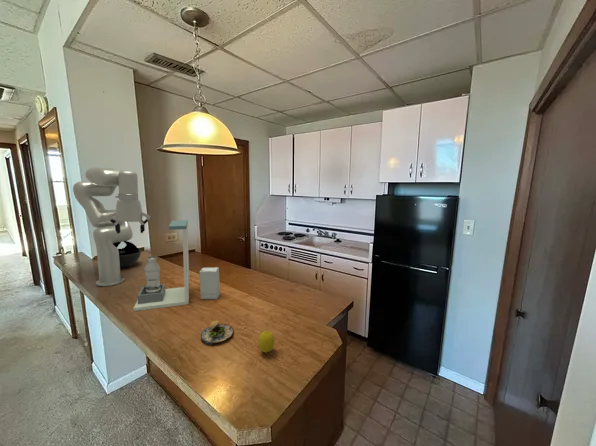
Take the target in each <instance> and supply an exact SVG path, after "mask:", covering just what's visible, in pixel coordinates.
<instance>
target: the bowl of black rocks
mask: <svg viewBox="0 0 596 446" xmlns="http://www.w3.org/2000/svg"><path fill="white" fill-rule="evenodd" d="M121 243H124V244H125V246H124V247H122V248H118V247H119V245H121ZM113 245H114V246H115V247H116V248H117V249H118V250H119V260H120V268H127V267H130V266H132V265H134V264H135V263H137V261H139V259H140V257H141V255H142V250H141V249H139V247H137V245H135V244H134V243H133V242H131V241H129V240H128V241H123V242H116V243H113Z"/></svg>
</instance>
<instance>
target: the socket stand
mask: <svg viewBox="0 0 596 446" xmlns="http://www.w3.org/2000/svg"><path fill="white" fill-rule="evenodd" d="M188 223H189V222H188V220H187V219H185V220H183V219H181V220H180V219H179V220H171V222H170V223H169V225H168V230H170V231H171V230H173V231H174V230H182V253H183V286H182V287H171V288H166V284H165V283H164V284H162V283H161V284H160V287H161V292H160V293H151V294H146V285H143V286H142V287H141V288H140V290H139V292H138V294H137V295H136V296H137V297H136V299H137V300H136V303H135V305H134V306H133V308H132V309H133V312H139V310H140V311H148V310H154V309H160V308H161V309H163V308H170V307H176V306H184V305H189V301H190V298H189V297H190V265H189V262H190V260H189V259H190V258H189V256H190V255H189V225H188ZM147 309H148V310H147Z"/></svg>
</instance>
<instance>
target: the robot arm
mask: <svg viewBox="0 0 596 446" xmlns="http://www.w3.org/2000/svg"><path fill="white" fill-rule="evenodd" d="M85 178H86V179H87V180H85V181H83V180H82V181H81V180H80V181H78V182H75V183H74V184H73V187H72V192H73V195H74V197H75V199H76V201H77V202H78V204H79V205H80V206H81V207H82V209H83V210H84V211H85V214H86V216H87V218H88V220H89V222H90V224H91V225H92V227H94V228H95V229H94V230H93V232H92V237H93V240H94V243H95V248H96V256H97V257H96V259H97V267H98V280H96V281H95V285H96V286H97V287H113V286H116V285H119V284H121V283H124V281H125V277H124V276H121V267H120V260H119V250H118V249H119V248H118V247H117V248H116V247H115V246H114V245H113V243H116V242H121V243H124V242H123V241H128V242H129V241H130V240H131V239H132V238H133V236H134V235H133V234H134V233H133V229H132V226H130V224H129V223H130V222H131V223H136V222H138V223H140V225H139V227H140V230H139V231H140V234H144V232H145V230H146V229H145V226H146V224H147V223H148V221H149V220H150V219H151V215H149V214H147V213H145V212H143V209H142V205H141V204H142V203H141V201H140V199H139V185H138V174H137V173H136V172H135V171H128V170H121V169H115V168H107V167H106V168H105V167H91V168H88V169H87V170H86V171H85ZM117 187H118V194H115V198H116V199H118V200H117V201H116V207H115V209H106V208H105V207H104V205H103V203H102V202H101V201H100V200H98V199H96V198H95V197H110V196H112V195H113V194H114V193H115V190H116V188H117ZM143 217H145V220H143Z"/></svg>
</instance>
